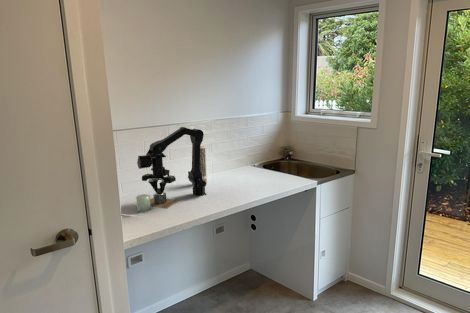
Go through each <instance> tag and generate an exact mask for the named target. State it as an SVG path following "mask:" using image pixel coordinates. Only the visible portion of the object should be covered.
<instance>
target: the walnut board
mask: <svg viewBox="0 0 470 313" xmlns="http://www.w3.org/2000/svg"><path fill="white" fill-rule="evenodd" d="M166 199H167V203H165V204H160V205H157V204H154V197H152V198H150V202H151V208H161V209H169V208H171V207H172V206H174V205H176V204H178V203H179V202H181V201H182V200H181V199H173V198H166Z"/></svg>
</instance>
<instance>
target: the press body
mask: <svg viewBox="0 0 470 313" xmlns="http://www.w3.org/2000/svg"><path fill="white" fill-rule="evenodd" d="M163 193H164V195H161V196H157V195H156V193H154V194H153V197H152V198H154V204H157V205H160V204H165V203H167V199H168V198H167V193H166V192H163Z"/></svg>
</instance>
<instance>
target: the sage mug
mask: <svg viewBox="0 0 470 313" xmlns="http://www.w3.org/2000/svg"><path fill="white" fill-rule="evenodd" d="M135 199H136V201H135V202H136V211H138V212H139V213H143V212H144V213H145V212H149V211H151V210H152V207H151V202H150V199H151V195H150V194H146V193H145V194H139V195H137V196H136V197H135Z"/></svg>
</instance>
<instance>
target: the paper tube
mask: <svg viewBox="0 0 470 313" xmlns="http://www.w3.org/2000/svg"><path fill="white" fill-rule="evenodd" d="M206 161H207V159H206V146H205V145H200V171H201V174H202V180H204V181H205V182H206V185H207V183H208V180H207V179H208V178H207V176H208V175H207V162H206Z"/></svg>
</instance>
